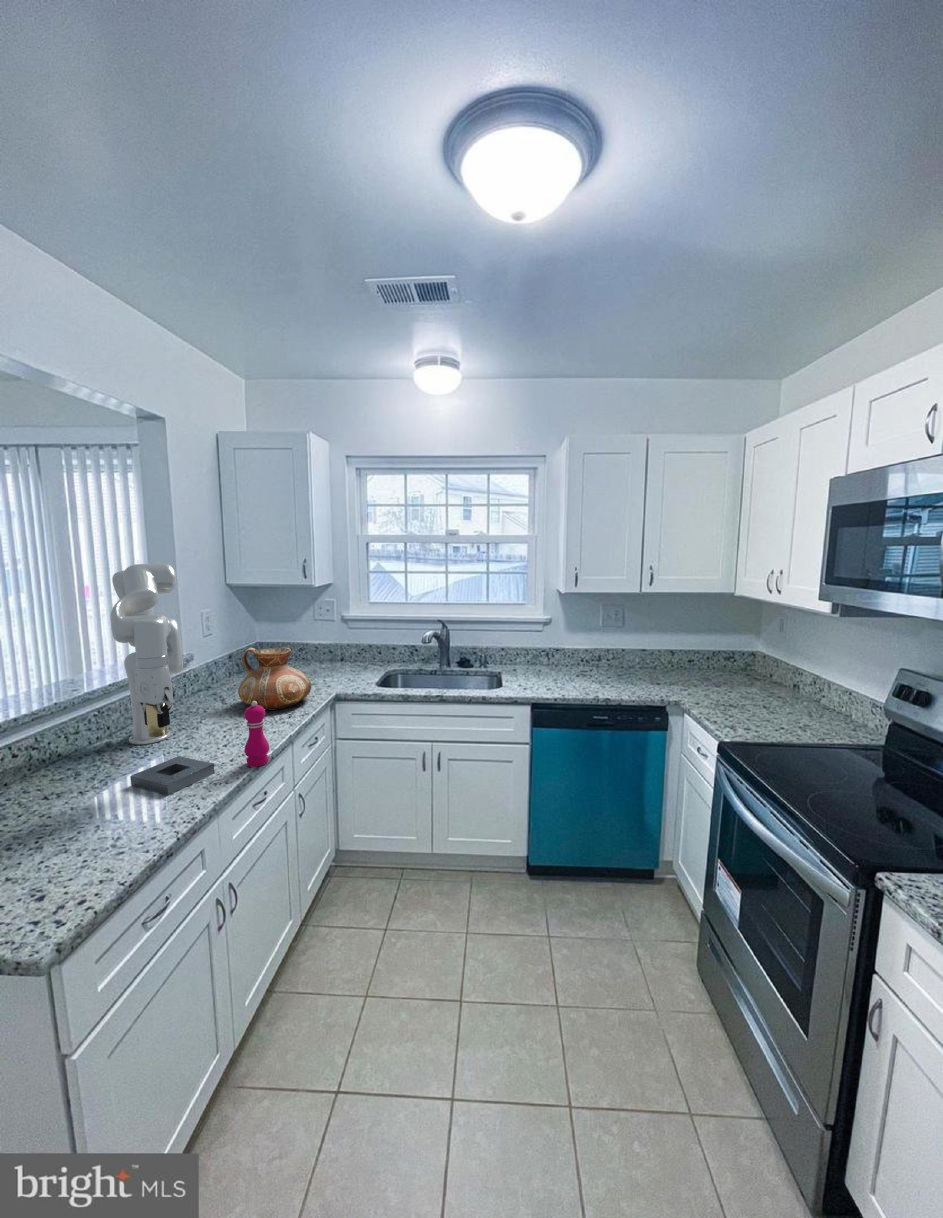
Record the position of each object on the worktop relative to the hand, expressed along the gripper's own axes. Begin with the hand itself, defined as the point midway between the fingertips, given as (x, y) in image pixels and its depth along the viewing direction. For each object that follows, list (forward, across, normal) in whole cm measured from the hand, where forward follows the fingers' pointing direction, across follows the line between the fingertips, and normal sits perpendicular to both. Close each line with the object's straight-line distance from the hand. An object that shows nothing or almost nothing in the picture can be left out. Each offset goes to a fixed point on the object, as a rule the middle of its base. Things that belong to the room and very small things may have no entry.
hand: (157, 724), depth 145 cm
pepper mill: (+17, +15, +21) cm, 31 cm away
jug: (+18, -26, +71) cm, 77 cm away
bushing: (+3, 0, 0) cm, 3 cm away
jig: (+17, +2, +2) cm, 18 cm away
